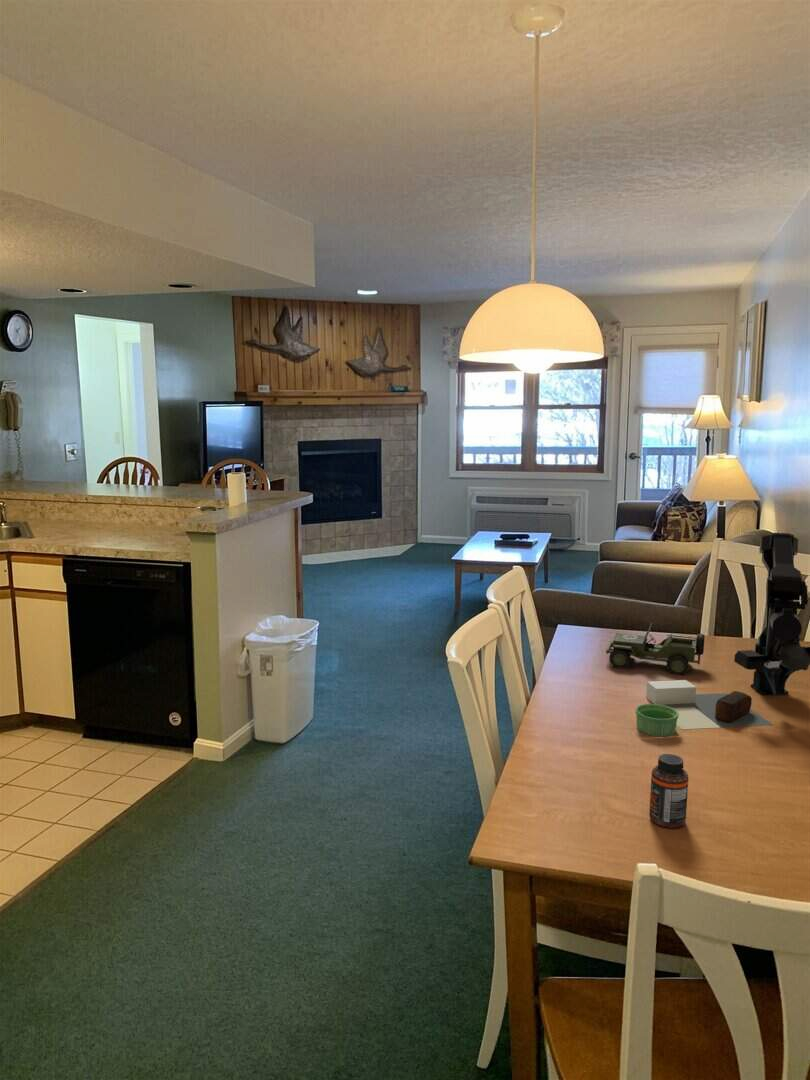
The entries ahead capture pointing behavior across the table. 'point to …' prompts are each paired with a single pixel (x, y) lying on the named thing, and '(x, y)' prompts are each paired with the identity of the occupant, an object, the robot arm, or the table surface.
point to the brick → (733, 706)
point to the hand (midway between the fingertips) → (776, 694)
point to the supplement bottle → (669, 792)
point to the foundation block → (671, 692)
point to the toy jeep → (656, 651)
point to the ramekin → (656, 719)
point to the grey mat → (711, 714)
